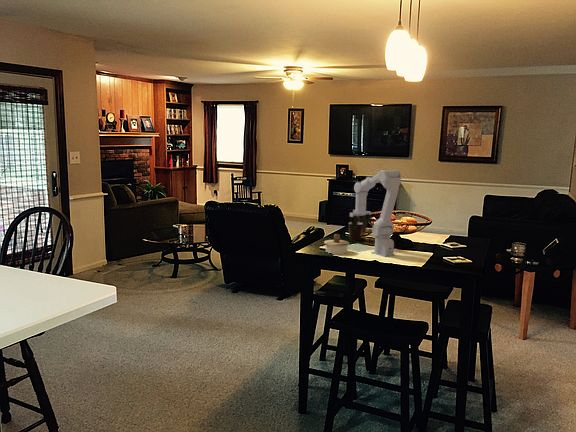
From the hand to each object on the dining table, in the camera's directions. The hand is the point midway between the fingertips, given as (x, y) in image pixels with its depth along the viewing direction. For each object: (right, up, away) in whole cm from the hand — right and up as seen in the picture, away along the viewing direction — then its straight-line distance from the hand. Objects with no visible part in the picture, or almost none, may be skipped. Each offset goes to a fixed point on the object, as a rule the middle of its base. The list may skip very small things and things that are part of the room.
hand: (359, 228), depth 272 cm
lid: (-14, -8, -15) cm, 22 cm away
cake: (+4, -4, +38) cm, 39 cm away
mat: (-2, -11, -3) cm, 11 cm away
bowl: (-14, -12, -14) cm, 24 cm away
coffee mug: (+1, -7, +20) cm, 21 cm away
